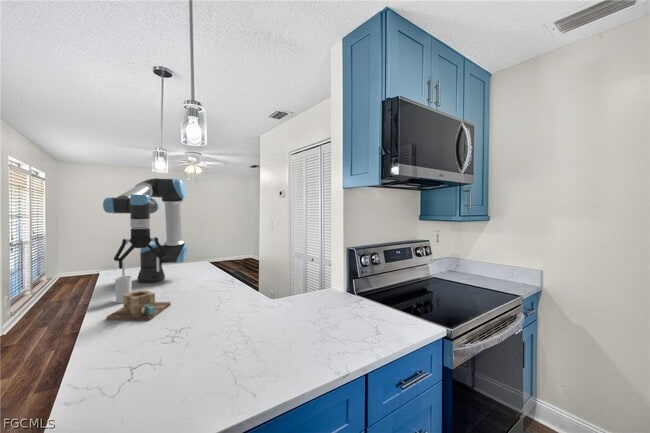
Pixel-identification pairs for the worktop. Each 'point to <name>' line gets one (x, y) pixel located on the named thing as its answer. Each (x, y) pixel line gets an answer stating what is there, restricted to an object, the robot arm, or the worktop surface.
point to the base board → (125, 315)
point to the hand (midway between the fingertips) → (141, 273)
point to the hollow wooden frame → (139, 302)
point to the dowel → (142, 311)
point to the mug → (122, 287)
